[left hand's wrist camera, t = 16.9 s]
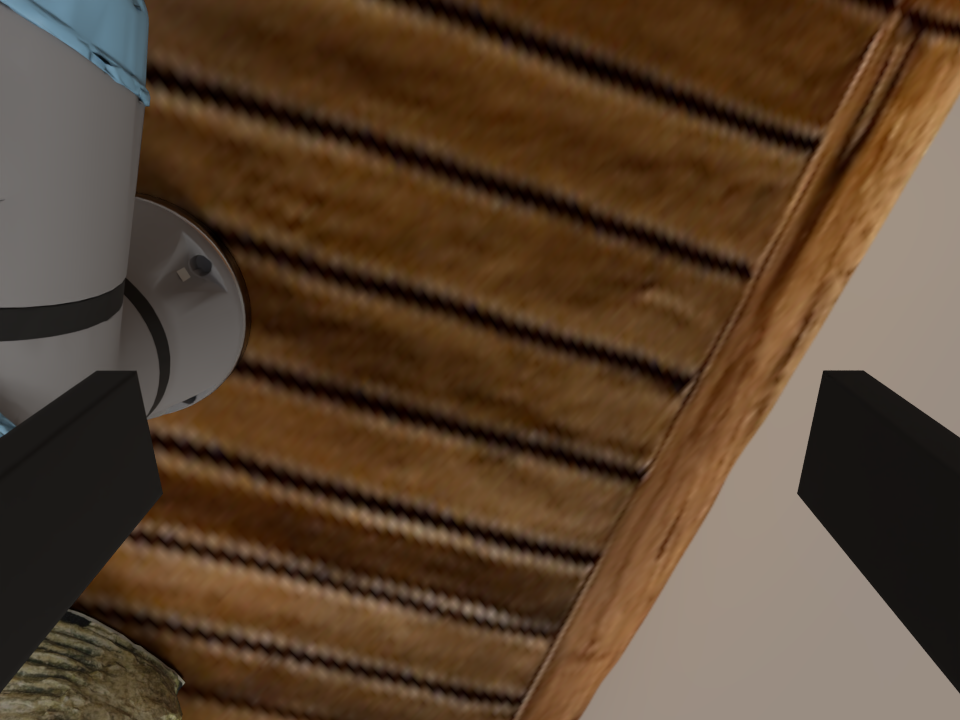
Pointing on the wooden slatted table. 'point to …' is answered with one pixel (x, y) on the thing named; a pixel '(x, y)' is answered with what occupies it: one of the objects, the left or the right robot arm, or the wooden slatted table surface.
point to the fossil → (91, 678)
